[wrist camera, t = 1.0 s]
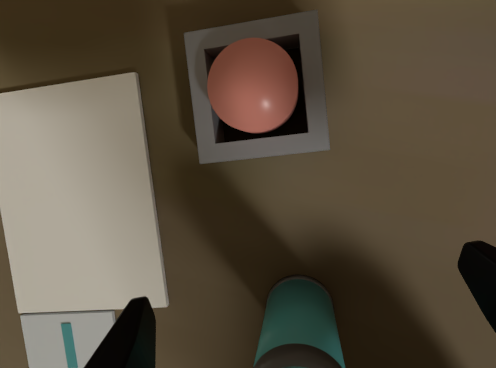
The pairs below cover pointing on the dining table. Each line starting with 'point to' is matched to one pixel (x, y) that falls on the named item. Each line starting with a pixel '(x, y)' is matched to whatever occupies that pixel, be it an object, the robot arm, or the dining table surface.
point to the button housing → (308, 41)
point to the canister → (299, 327)
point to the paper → (79, 197)
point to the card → (64, 337)
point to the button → (253, 85)
